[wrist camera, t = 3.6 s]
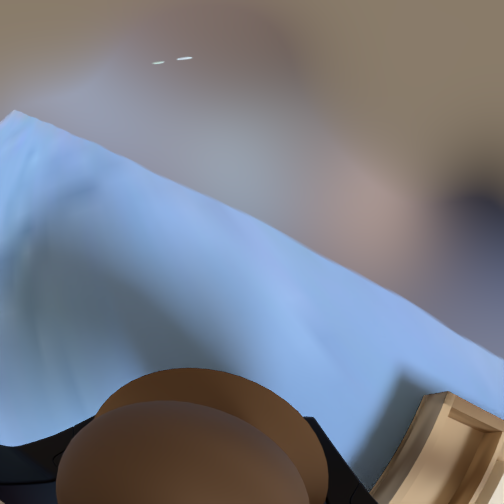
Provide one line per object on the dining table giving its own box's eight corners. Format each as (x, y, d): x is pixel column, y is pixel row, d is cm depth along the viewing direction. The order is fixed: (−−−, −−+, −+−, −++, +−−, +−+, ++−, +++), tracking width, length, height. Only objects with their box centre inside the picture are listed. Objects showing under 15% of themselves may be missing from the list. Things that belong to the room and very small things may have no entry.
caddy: (474, 533, 5) (492, 538, 2) (347, 519, 9) (363, 535, 7) (521, 441, 9) (541, 438, 6) (423, 395, 14) (448, 391, 11)
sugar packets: (482, 509, 6) (499, 512, 4) (464, 507, 7) (482, 512, 5) (504, 465, 8) (522, 464, 6) (489, 460, 9) (509, 460, 7)
